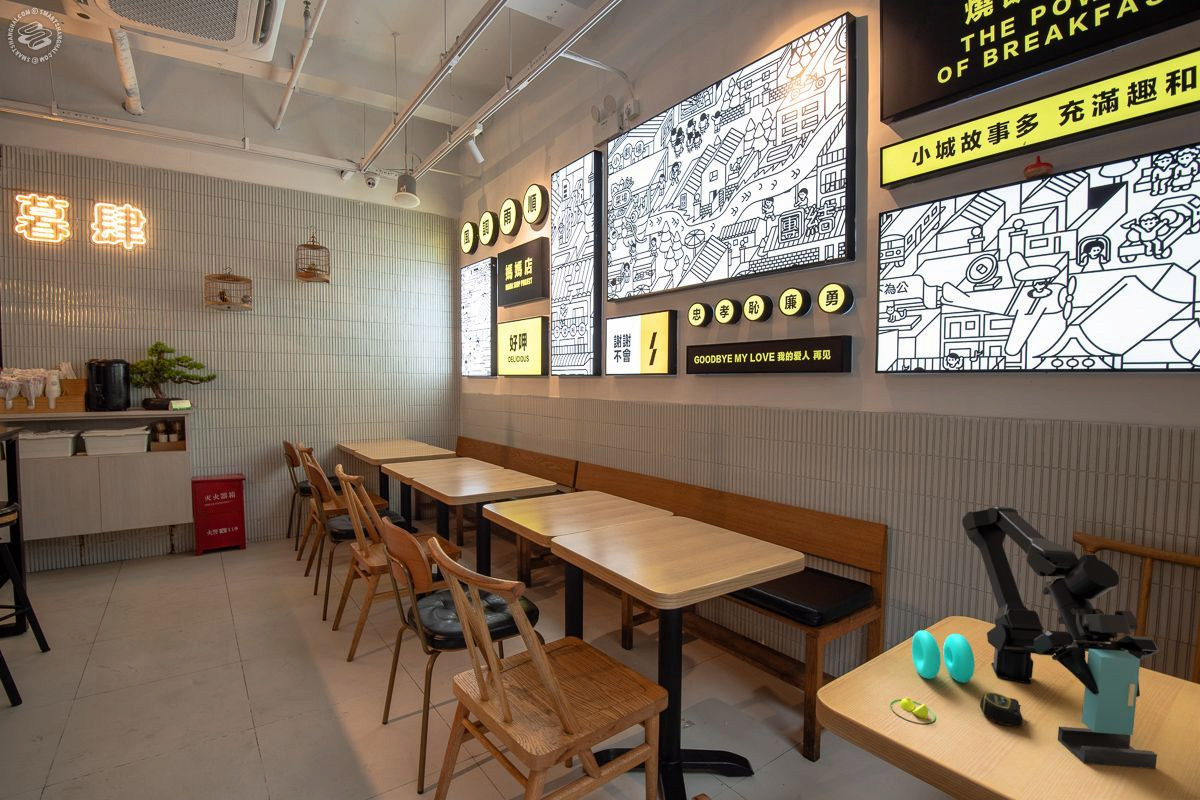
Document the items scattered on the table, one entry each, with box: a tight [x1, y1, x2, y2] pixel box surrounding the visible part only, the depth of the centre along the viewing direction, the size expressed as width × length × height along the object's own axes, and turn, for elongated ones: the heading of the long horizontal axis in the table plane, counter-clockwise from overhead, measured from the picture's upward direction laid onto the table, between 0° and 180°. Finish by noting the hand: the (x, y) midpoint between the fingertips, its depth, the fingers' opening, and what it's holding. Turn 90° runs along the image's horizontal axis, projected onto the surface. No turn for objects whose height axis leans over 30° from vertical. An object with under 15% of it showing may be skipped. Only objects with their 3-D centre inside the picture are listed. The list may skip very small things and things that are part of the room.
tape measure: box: [979, 692, 1024, 728], centre depth 115 cm, size 7×7×4 cm
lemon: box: [890, 696, 936, 724], centre depth 116 cm, size 8×8×3 cm
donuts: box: [911, 630, 975, 683], centre depth 130 cm, size 10×10×10 cm
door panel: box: [1081, 649, 1141, 736], centre depth 105 cm, size 3×6×14 cm, turn 86°
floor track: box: [1057, 726, 1158, 770], centre depth 105 cm, size 6×12×3 cm, turn 86°
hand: (1116, 695), depth 103 cm, fingers closed on door panel, 6 cm apart
